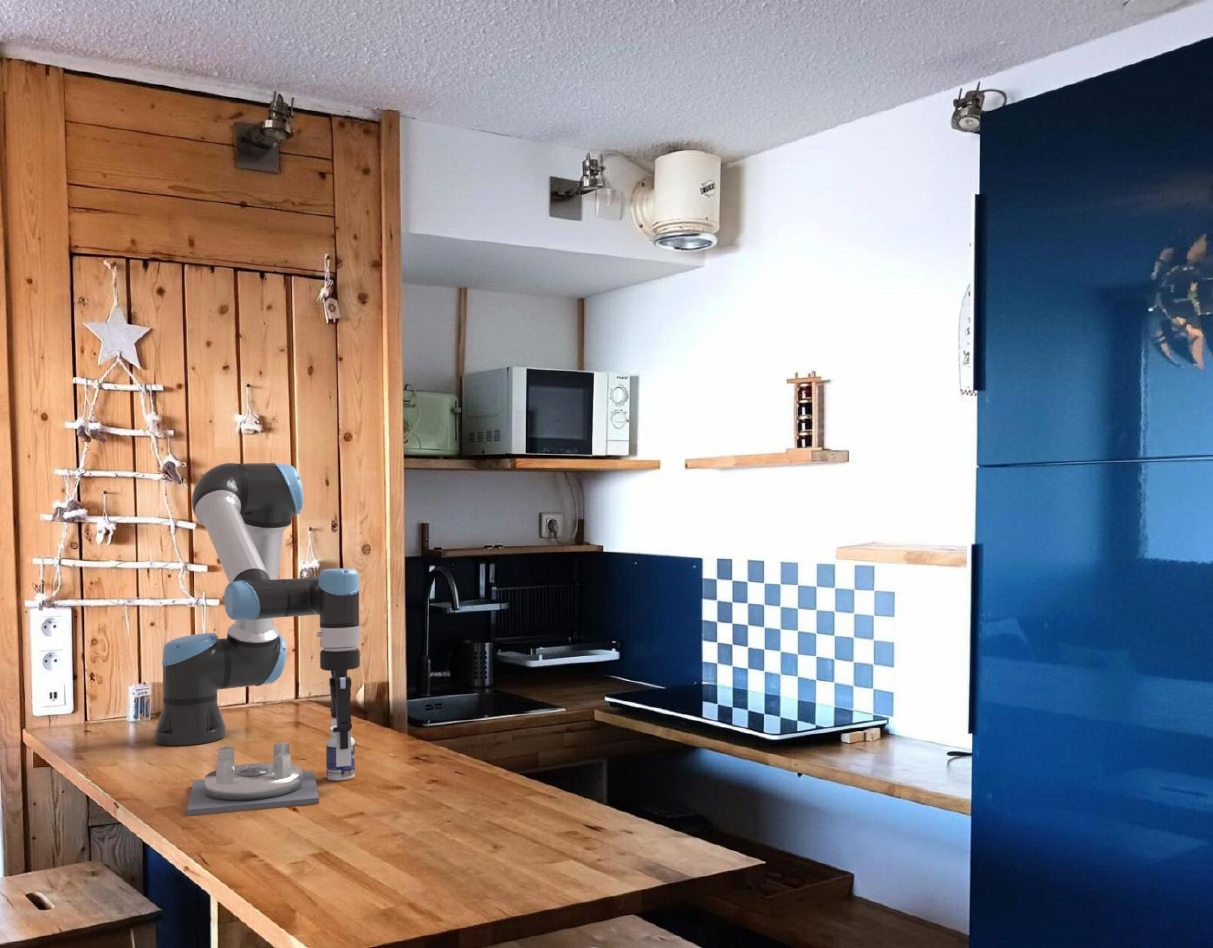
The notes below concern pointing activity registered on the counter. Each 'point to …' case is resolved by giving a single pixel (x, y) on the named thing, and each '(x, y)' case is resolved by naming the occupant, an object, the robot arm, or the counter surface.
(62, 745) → the counter surface
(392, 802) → the counter surface
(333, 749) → the pill bottle
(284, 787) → the grey shallow round piece
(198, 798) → the grey square plate
